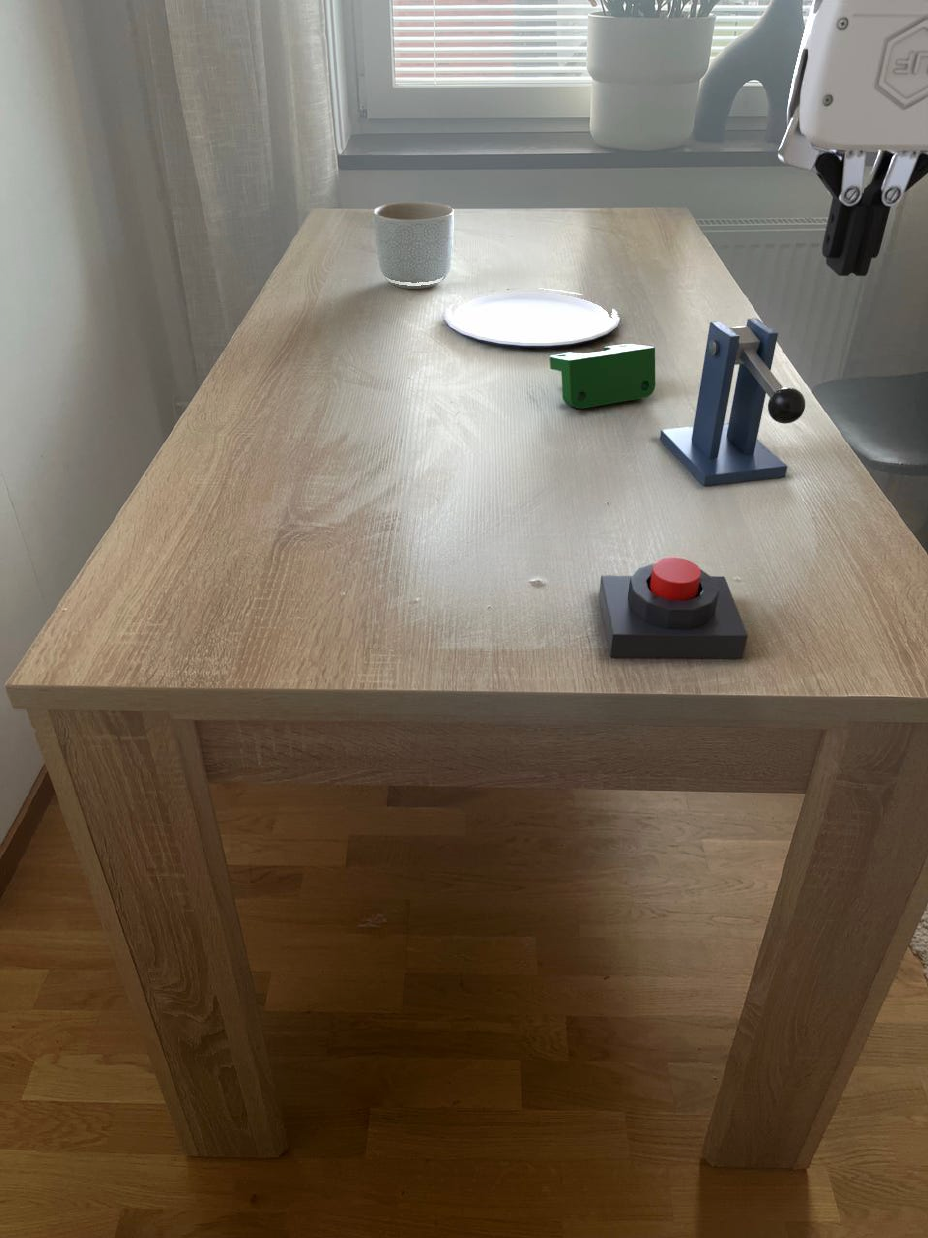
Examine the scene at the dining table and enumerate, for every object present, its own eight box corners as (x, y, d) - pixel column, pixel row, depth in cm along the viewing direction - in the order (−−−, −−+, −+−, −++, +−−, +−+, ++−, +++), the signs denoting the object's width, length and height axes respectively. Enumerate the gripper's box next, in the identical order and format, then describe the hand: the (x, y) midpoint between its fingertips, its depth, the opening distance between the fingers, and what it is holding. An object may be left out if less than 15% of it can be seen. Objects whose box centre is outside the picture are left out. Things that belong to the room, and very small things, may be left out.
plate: (409, 316, 134) (409, 307, 133) (539, 285, 146) (539, 277, 145) (520, 367, 118) (521, 357, 117) (656, 327, 130) (657, 318, 129)
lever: (804, 428, 84) (816, 399, 81) (772, 432, 83) (783, 402, 81) (744, 350, 92) (754, 321, 90) (715, 353, 92) (723, 324, 89)
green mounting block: (616, 420, 115) (639, 347, 113) (641, 427, 110) (667, 351, 107) (533, 395, 110) (557, 318, 107) (556, 401, 104) (581, 320, 102)
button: (692, 576, 72) (696, 557, 71) (701, 602, 69) (705, 583, 68) (646, 575, 72) (649, 556, 71) (653, 602, 69) (656, 583, 68)
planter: (365, 277, 149) (361, 205, 143) (435, 268, 154) (434, 198, 147) (393, 299, 140) (390, 223, 134) (467, 288, 145) (467, 214, 138)
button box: (720, 598, 76) (728, 557, 74) (742, 658, 69) (752, 615, 67) (598, 597, 76) (603, 556, 74) (609, 657, 69) (614, 614, 67)
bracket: (785, 476, 93) (816, 342, 85) (703, 486, 92) (726, 350, 84) (735, 431, 102) (759, 306, 94) (659, 439, 100) (676, 312, 92)
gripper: (807, -107, 44) (739, 287, 55) (1124, -107, 44) (992, 288, 54) (767, -101, 50) (713, 253, 61) (1045, -101, 50) (941, 254, 60)
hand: (845, 269), depth 57 cm, fingers closed
